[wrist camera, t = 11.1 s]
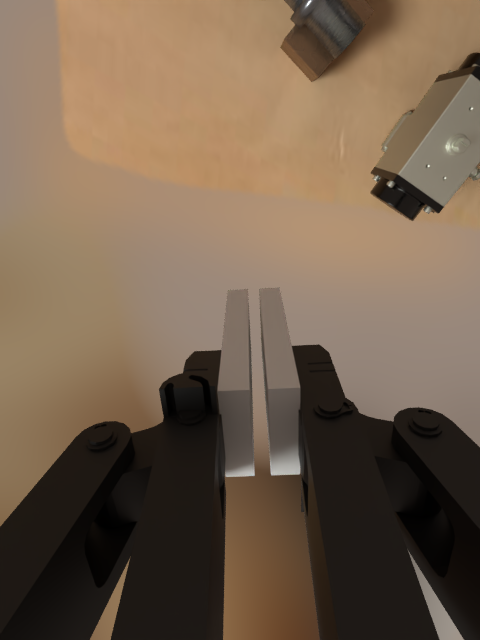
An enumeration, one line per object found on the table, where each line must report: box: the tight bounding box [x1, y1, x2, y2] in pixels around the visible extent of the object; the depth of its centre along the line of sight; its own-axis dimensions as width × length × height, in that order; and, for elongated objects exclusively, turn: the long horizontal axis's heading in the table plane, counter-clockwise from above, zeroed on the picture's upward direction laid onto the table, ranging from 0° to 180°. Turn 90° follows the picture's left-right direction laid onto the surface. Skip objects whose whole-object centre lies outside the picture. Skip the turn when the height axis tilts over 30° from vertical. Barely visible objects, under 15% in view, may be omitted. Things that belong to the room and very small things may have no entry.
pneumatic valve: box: [370, 53, 480, 221], centre depth 35 cm, size 6×12×12 cm, turn 149°
